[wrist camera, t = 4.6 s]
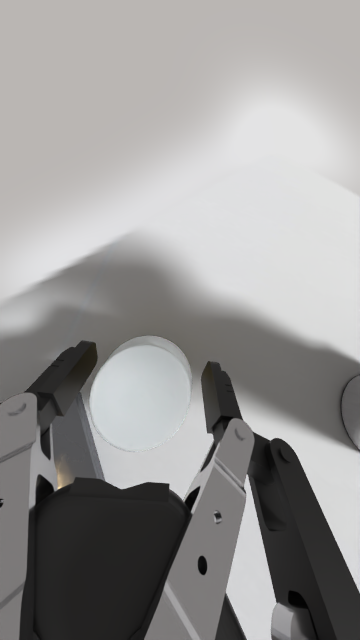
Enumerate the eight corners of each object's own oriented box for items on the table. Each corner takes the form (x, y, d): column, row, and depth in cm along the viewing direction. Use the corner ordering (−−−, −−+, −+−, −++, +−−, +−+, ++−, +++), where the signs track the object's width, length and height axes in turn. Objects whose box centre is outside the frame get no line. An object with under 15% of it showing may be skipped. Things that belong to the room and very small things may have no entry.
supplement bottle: (169, 401, 15) (186, 494, 5) (117, 387, 14) (38, 458, 5) (184, 349, 16) (220, 350, 7) (137, 334, 16) (102, 312, 6)
